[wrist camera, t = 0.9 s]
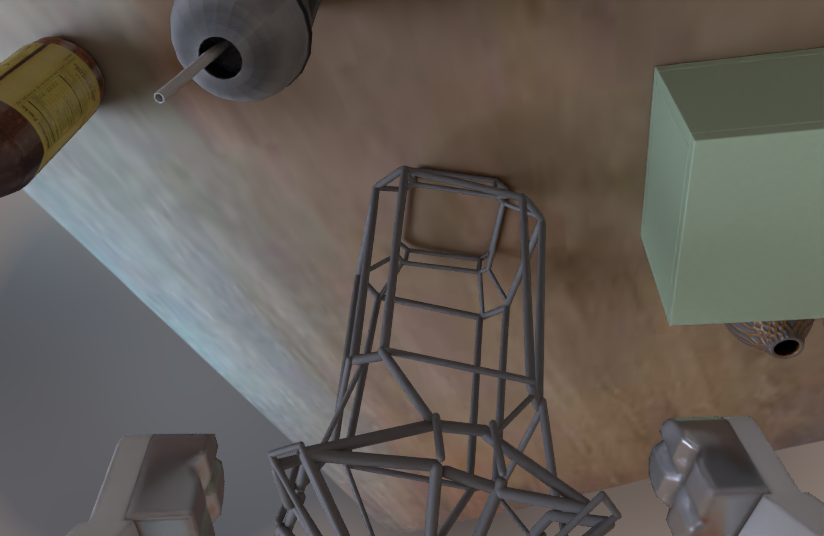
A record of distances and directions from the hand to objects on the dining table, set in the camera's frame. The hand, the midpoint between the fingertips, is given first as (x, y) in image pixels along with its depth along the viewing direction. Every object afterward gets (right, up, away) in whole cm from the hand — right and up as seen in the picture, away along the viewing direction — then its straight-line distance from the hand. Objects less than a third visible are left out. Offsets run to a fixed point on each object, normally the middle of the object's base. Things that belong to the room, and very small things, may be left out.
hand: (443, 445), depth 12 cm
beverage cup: (-8, +23, +31) cm, 40 cm away
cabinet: (+25, +12, +36) cm, 46 cm away
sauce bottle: (-26, +18, +37) cm, 49 cm away
